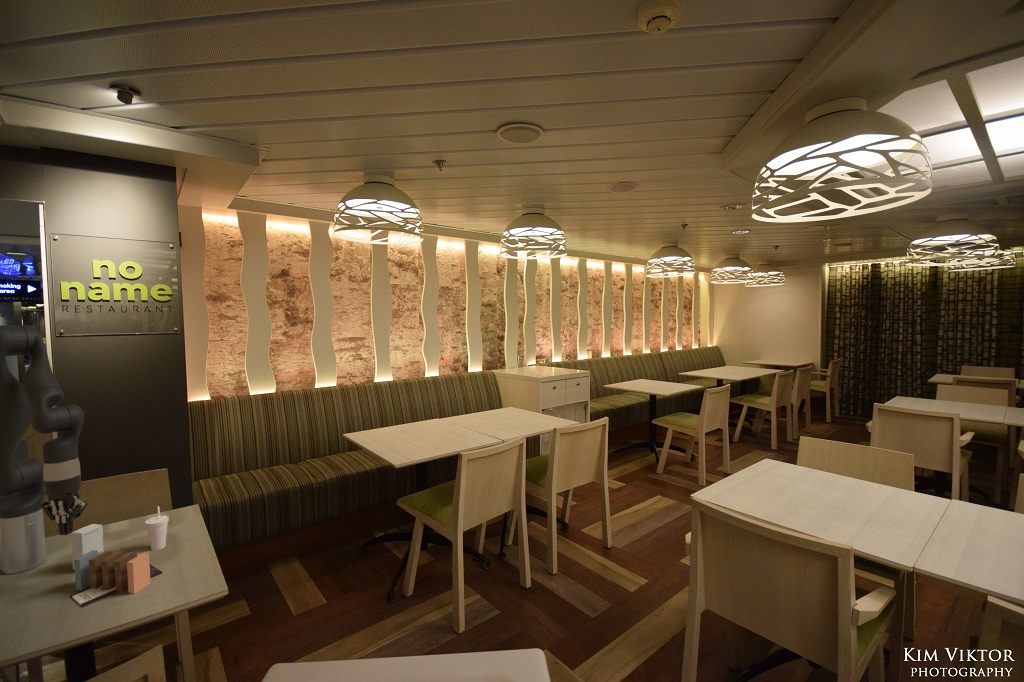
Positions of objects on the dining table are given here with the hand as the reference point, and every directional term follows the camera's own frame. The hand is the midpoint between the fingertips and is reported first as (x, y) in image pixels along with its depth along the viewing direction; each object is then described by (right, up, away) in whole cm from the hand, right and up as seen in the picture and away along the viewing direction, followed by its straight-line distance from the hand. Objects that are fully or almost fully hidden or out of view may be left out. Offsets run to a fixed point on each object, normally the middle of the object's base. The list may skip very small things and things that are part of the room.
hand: (66, 533), depth 129 cm
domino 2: (+10, -15, 0) cm, 18 cm away
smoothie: (+10, -14, +21) cm, 27 cm away
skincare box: (-3, -15, +10) cm, 18 cm away
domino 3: (+14, -15, 0) cm, 21 cm away
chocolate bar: (+15, -16, +1) cm, 21 cm away
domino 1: (+6, -15, 0) cm, 16 cm away
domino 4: (+18, -15, -1) cm, 24 cm away
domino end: (+22, -15, -1) cm, 27 cm away
